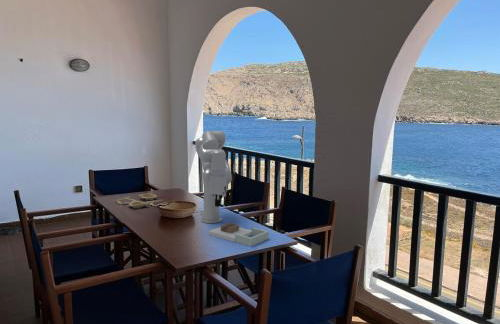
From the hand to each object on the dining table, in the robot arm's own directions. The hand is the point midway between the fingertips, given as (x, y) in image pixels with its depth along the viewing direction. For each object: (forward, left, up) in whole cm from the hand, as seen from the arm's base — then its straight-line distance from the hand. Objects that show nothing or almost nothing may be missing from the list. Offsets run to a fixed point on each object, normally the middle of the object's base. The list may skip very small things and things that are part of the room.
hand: (217, 206), depth 207 cm
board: (+10, 0, -14) cm, 17 cm away
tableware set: (-82, +11, -15) cm, 84 cm away
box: (+24, 0, -14) cm, 27 cm away
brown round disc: (+9, 0, -12) cm, 15 cm away
